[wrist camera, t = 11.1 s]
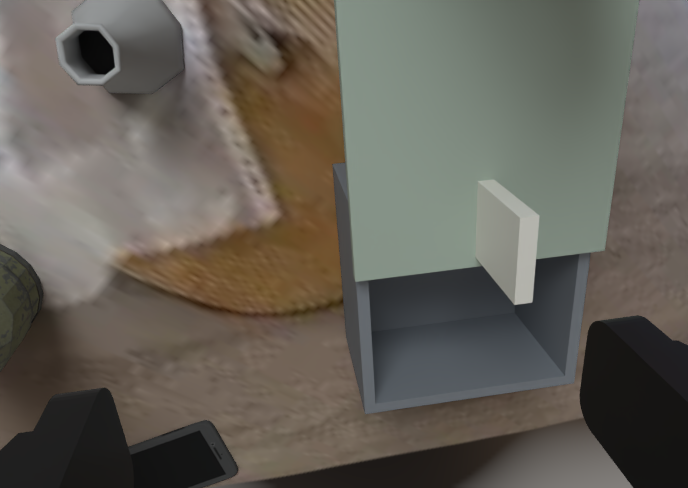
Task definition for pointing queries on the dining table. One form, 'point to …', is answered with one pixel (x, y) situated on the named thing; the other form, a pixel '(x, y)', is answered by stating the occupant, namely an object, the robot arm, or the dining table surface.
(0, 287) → the thermos
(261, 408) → the dining table surface
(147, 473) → the cell phone
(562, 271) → the carton
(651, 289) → the dining table surface
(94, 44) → the flask
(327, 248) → the dining table surface
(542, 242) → the lid
